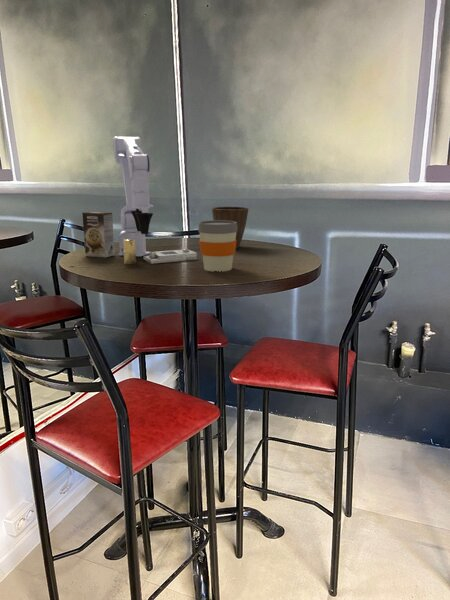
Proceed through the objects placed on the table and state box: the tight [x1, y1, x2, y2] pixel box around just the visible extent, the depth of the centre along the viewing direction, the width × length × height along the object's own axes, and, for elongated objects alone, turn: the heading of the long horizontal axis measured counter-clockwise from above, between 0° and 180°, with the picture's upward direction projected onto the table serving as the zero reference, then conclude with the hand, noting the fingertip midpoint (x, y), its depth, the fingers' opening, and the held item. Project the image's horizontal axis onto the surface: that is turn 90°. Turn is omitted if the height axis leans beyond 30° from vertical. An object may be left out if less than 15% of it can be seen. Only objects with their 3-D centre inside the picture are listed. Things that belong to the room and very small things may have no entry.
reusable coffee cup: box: [197, 220, 237, 273], centre depth 151 cm, size 13×13×15 cm
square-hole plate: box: [143, 248, 198, 265], centre depth 168 cm, size 17×9×3 cm, turn 116°
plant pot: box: [211, 206, 249, 249], centre depth 192 cm, size 15×15×16 cm
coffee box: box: [82, 211, 115, 259], centre depth 174 cm, size 9×6×16 cm
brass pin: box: [123, 239, 137, 265], centre depth 161 cm, size 4×4×8 cm
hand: (142, 232), depth 161 cm, fingers open, 7 cm apart
